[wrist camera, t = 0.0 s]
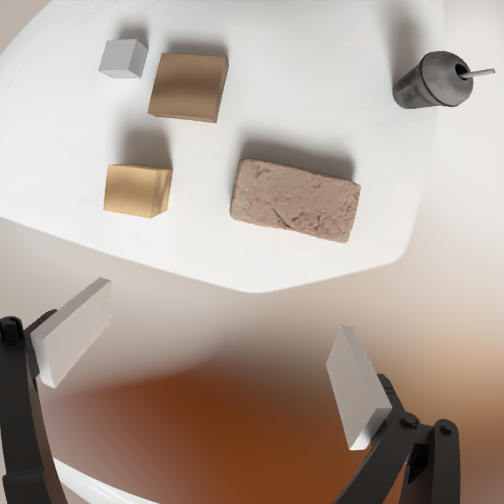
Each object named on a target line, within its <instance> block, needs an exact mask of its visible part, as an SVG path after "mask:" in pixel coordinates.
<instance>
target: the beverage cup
mask: <svg viewBox="0 0 504 504" xmlns="http://www.w3.org/2000/svg"><path fill="white" fill-rule="evenodd" d="M492 73H495V70H494V69H487V70H481V71H476V72H471V71H470V69H469V67H468V66H467V64H466V63H465V62H464V61H463V60H462V59H461V58H459V57H458V56H457V55H455V54H453V53H450V52H446V51H436V52H430V53H428V54H426V55H425V56H424V57H423V59H422V60H421V61H420V63H419V64H418V65H417V66H416V67H415V68H414V69H412V70H411V71H410V72H409V73H408V74H406V75H405V76H404V77H403V78H402V79H400V80H399V81H398V83H397V84H395V86H394V87H393V97H394V100H395V101H396V102H397V104H398V105H399V106H401V107H403V108H405V109H416V108H423V107H431V106H439V105H440V106H448V107H455V106H458V105H459V104H461V103H462V102H464V101H465V100H466V99H468V97H469V96H470V94H471V92H472V89H473V77H474V76H479V75H486V74H492Z"/></svg>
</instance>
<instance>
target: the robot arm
mask: <svg viewBox="0 0 504 504" xmlns="http://www.w3.org/2000/svg"><path fill="white" fill-rule="evenodd" d="M110 322H111V280H107V279H104V278H98V279H97V280H96V281H94V282H93V283H92V284H90V285H89V286H88V287H87V288H85V289H84V290H83V291H81V292H80V293H79V294H78V295H76V296H75V297H74V298H73V299H71V300H70V301H69V302H68V303H66V304H65V305H64V306H63V307H61V308H60V309H59V310H56V309H54V310H51V311H48V312H46V313H45V314H43V315H42V316H41V317H40V318H39V319H37V320H36V322H34V323H32V324H31V325H30V326H29V327H27V328H26V329H25V330H24V331H23V326H22V322H21V320H20V319H19V318H17V317H13V316H9V317H4V318H2V319H0V429H1V439H2V448H3V455H4V461H5V467H6V475H4V476H3V479H2V480H3V486H4V491H5V496H6V500H7V504H68V502H67V500H66V497H65V494H64V492H63V489H62V486H61V483H60V480H59V477H58V474H57V471H56V468H55V465H54V461H53V458H52V454H51V450H50V447H49V443H48V439H47V435H46V430H45V426H44V422H43V416H42V411H41V405H40V400H39V394H38V387H37V381H36V379H35V378H36V377H37V375H38V374H39V373H40V376H41V379H42V383H44V384H47V385H49V386H51V387H53V388H56V386H57V385H58V384H59V383H60V381H61V380H62V379H63V378H64V377H65V375H66V374H67V373H68V372H69V371H70V369H71V368H72V367H73V366H74V364H75V363H76V362H77V361H78V360H79V358H80V357H81V356H82V355H83V354H84V353H85V351H86V350H87V349H88V348H89V347H90V345H91V344H92V343H93V342H94V341H95V340H96V339H97V337H98V336H99V335H100V334H101V333H102V332H103V331H104V329H105V328H106V327H107V326H108V325H109V324H110ZM326 366H327V369H328V373H329V376H330V380H331V383H332V387H333V390H334V394H335V397H336V401H337V405H338V409H339V412H340V416H341V420H342V423H343V427H344V431H345V435H346V439H347V442H348V446H349V450H361V449H363V450H364V449H365V448H366V447H367V446H368V444H369V443H370V441H371V444H372V447H373V448H372V450H371V451H370V452H369V453H368V455H367V456H366V457H365V459H364V460H363V461H362V464H361V465H360V467H359V468H358V470H357V471H356V472H355V474H354V475H353V476H352V478H351V479H350V480H349V482H348V483H347V484H346V486H345V487H344V488H343V489H342V491H341V492H340V493H339V495H338V496H337V497H336V498H335V499H334V501H333V502H332V503H331V504H382V503H383V501H384V500H385V498H386V496H387V494H388V493H389V491H390V489H391V487H392V486H393V484H394V482H395V480H396V478H397V476H398V474H399V472H400V470H401V468H402V466H403V465H404V464H405V465H406V468H405V474H404V480H403V485H402V491H401V495H400V500H399V504H460V449H459V434H458V429H457V427H456V425H455V424H454V423H452V422H451V421H449V420H446V419H440V420H438V421H437V422H436V423H435V424H434V426H428V425H423V424H420V421H419V419H418V418H417V417H416V416H415V415H413V414H411V413H408V412H405V410H404V408H403V406H402V404H401V402H400V400H399V398H398V397H397V394H396V392H395V390H394V389H393V386H392V384H391V382H390V380H389V379H387V378H386V377H385V376H384V375H383V374H376V372H375V370H374V368H373V366H372V364H371V362H370V360H369V358H368V356H367V354H366V352H365V350H364V348H363V346H362V344H361V342H360V340H359V338H358V336H357V334H356V332H355V330H354V329H353V327H348V326H340V329H339V332H338V334H337V337H336V340H335V342H334V345H333V348H332V350H331V353H330V356H329V358H328V361H327V363H326Z"/></svg>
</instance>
